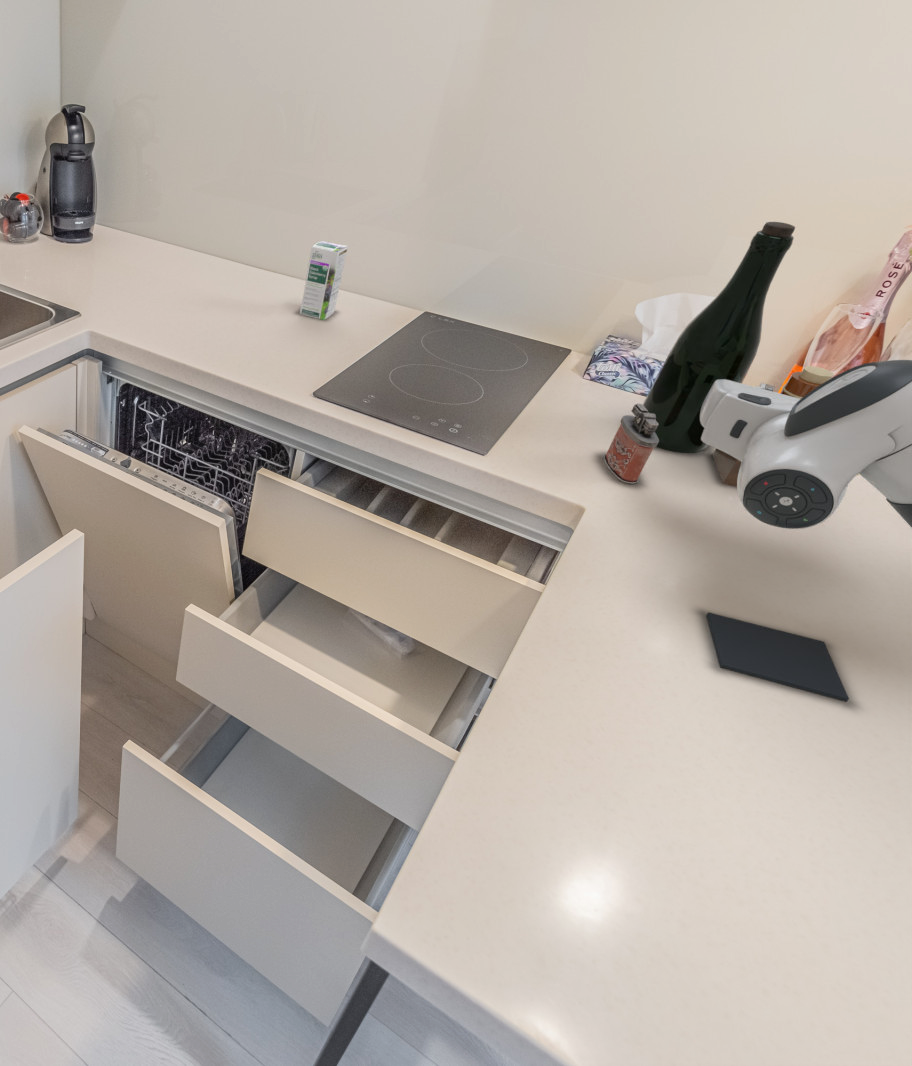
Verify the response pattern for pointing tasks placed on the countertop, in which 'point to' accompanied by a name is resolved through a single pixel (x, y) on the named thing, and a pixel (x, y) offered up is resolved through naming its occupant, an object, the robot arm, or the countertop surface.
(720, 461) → the shelf
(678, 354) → the dark green wine bottle
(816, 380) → the brown ringed jar
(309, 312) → the syrup box
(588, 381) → the countertop surface
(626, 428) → the lighter
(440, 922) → the countertop surface
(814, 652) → the rubber mat
